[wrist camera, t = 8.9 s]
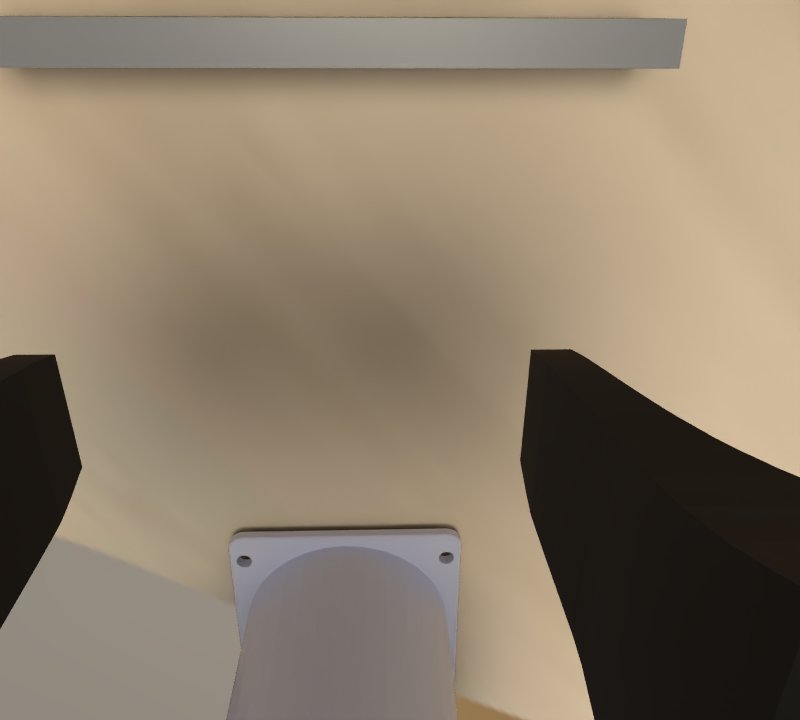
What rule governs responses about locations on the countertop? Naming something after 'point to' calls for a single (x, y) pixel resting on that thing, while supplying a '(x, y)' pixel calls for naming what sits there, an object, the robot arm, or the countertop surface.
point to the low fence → (339, 42)
